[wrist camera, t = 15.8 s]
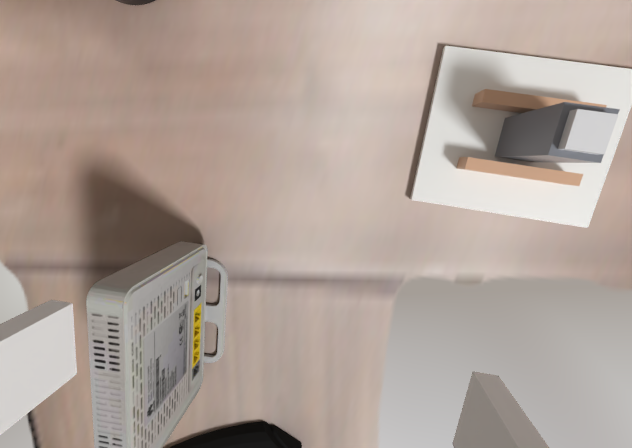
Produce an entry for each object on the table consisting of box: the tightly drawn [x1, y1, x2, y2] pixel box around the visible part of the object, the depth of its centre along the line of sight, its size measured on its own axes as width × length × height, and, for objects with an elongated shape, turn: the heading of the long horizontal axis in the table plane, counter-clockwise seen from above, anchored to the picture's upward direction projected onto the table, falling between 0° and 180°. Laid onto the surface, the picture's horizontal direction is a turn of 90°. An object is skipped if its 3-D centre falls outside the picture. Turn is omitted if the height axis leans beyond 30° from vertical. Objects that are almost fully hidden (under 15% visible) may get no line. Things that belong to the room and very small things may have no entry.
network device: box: [86, 241, 228, 448], centre depth 41 cm, size 26×9×20 cm, turn 174°
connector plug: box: [494, 102, 620, 163], centre depth 34 cm, size 5×5×12 cm
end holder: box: [410, 46, 632, 228], centre depth 39 cm, size 20×24×4 cm
